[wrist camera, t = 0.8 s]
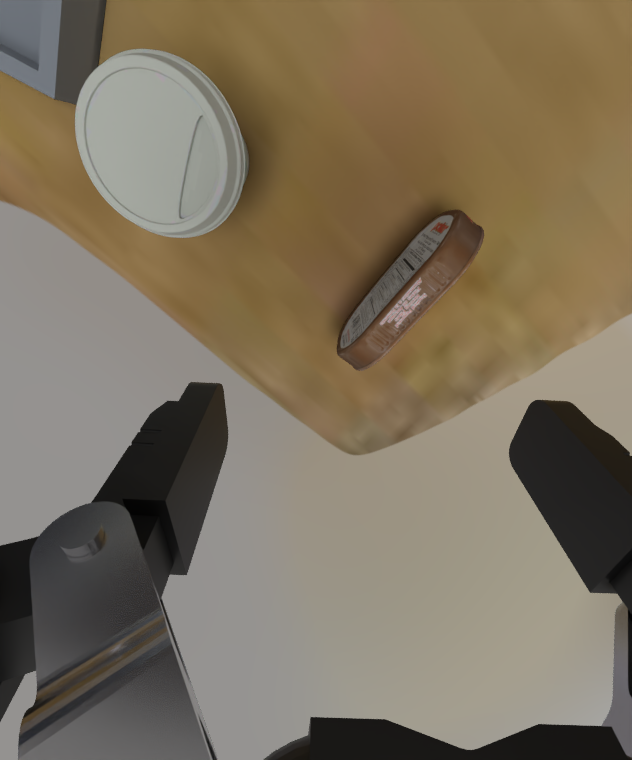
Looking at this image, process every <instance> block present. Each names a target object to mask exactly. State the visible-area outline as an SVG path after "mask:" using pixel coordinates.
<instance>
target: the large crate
mask: <svg viewBox="0 0 632 760" xmlns="http://www.w3.org/2000/svg"><path fill="white" fill-rule="evenodd" d="M105 6H106V0H0V71H2V72H4V73H6V74H8V75H10V76H12V77H14V78H16V79H17V80H19V81H21V82H23V83H25V84H27V85H29V86H31V87H33V88H34V89H36V90H38V91H40V92H42V93H44V94H46V95H48V96H50V97H51V98H53V99H56V100H60V101H64V102H68V103H72V104H76V105H77V101H78V97H79V94H80V91H81V89H82V87H83V85H84V83H85V81H86V80H87V78H88V77H89V75H90V74H91V73H92V72H93V71H94V70H95V69H96V68H97V67H98V64H99V55H100V47H101V39H102V31H103V23H104V15H105Z"/></svg>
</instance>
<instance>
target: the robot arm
mask: <svg viewBox="0 0 632 760" xmlns="http://www.w3.org/2000/svg"><path fill="white" fill-rule="evenodd" d="M227 442H228V426H227V416H226V408H225V399H224V391H223V386H222V384H219V383H199V382H191V383H189V385H188V386H187V388H186V390H185V391H184V393H183V395H182V396H181V398H180V400H179V401H167V402H166V403H164V404H163V405H162V406H160V407H159V408H157V409H156V410H155V411H153V412H152V413H151V414H150V415H149V417H148V418H147V420H146V421H145V423H144V424H143V426H142V427H141V429H140V432H138V434H137V435H136V437H135V438H134V440H133V441H132V445H131V446H129V447H128V448H127V450H126V451H125V453H124V454H123V456H122V458H121V459H120V461H119V462H118V464H117V465H116V467H115V468H114V470H113V471H112V473H111V474H110V476H109V477H108V479H107V480H106V482H105V483H104V485H103V486H102V488H101V489H100V491H99V492H98V494H97V495H96V497H95V498H94V500H93V501H92V502H91V503H89V504H85V505H82V506H79V507H77V508H75V509H73V510H70V511H69V512H67V513H65V514H64V515H62V516H60V517H59V518H57V519H56V520H55V521H53V522H52V523H51V524H50V525H49V526H48V527H47V528H46V529H45V530H44V531H43V532H42V533H41V534H40V536H38V537H35V538H31V539H28V540H23V541H19V542H14V543H10V544H6V545H1V546H0V721H1V719H2V718H3V715H4V714H5V712H6V710H7V708H8V706H9V704H10V702H11V700H12V698H13V696H14V695H15V693H16V691H17V689H18V687H19V685H20V683H21V681H22V679H23V677H24V675H25V674H27V673H30V672H33V671H36V677H37V695H36V700H35V703H34V705H33V707H31V708H29V709H28V710H27V711H26V713H25V714H24V717H23V719H22V723H21V727H20V733H19V744H18V760H218V758H217V755H216V752H215V749H214V746H213V743H212V740H211V738H210V735H209V732H208V729H207V726H206V723H205V721H204V718H203V715H202V712H201V709H200V707H199V704H198V701H197V698H196V696H195V693H194V690H193V687H192V684H191V681H190V678H189V676H188V673H187V670H186V667H185V664H184V661H183V658H182V656H181V652H180V650H179V646H178V644H177V641H176V638H175V635H174V632H173V629H172V626H171V623H170V620H169V618H168V615H167V612H166V609H165V606H164V603H163V600H162V594H163V591H164V588H165V586H166V583H167V580H168V577H169V575H170V574H173V575H187V572H188V569H189V566H190V563H191V560H192V557H193V554H194V550H195V547H196V544H197V541H198V538H199V535H200V531H201V529H202V525H203V522H204V519H205V516H206V513H207V510H208V507H209V504H210V500H211V497H212V494H213V491H214V488H215V485H216V482H217V479H218V475H219V473H220V469H221V466H222V463H223V460H224V457H225V454H226V449H227ZM629 454H630V453H629V451H627V450H626V449H625V448H624V447H623V446H622V445H621V444H620V443H619V442H618V441H617V440H616V439H615V438H614V437H613V436H611V435H610V434H608V433H607V432H605V431H603V430H602V429H600V428H599V427H597V426H596V425H594V424H593V423H592V422H591V421H590V420H589V419H588V418H587V417H586V416H585V415H584V414H583V413H582V412H581V411H580V410H579V409H578V408H577V407H576V406H575V405H573V404H572V403H570V402H567V401H549V400H535V401H533V402H532V403H531V404H530V405H529V407H528V409H527V411H526V413H525V415H524V417H523V419H522V421H521V423H520V425H519V427H518V429H517V431H516V434H515V436H514V438H513V440H512V442H511V444H510V449H509V457H510V462H511V464H512V467H513V469H514V470H515V472H516V474H517V475H518V477H519V479H520V480H521V482H522V483H523V485H524V487H525V488H526V490H527V491H528V493H529V495H530V496H531V498H532V500H533V501H534V503H535V504H536V506H537V507H538V509H539V511H540V512H541V514H542V515H543V517H544V519H545V520H546V522H547V524H548V525H549V527H550V529H551V530H552V532H553V533H554V535H555V537H556V538H557V540H558V541H559V543H560V545H561V546H562V548H563V550H564V551H565V553H566V554H567V556H568V558H569V559H570V561H571V562H572V564H573V566H574V567H575V569H576V570H577V572H578V574H579V575H580V577H581V579H582V580H583V582H584V583H585V585H586V587H587V588H588V590H589V591H590V593H616V594H618V595H619V596H620V598H621V600H622V601H623V602H622V603H621V604H620V605H619V606H618V607H617V609H616V612H615V635H614V670H613V673H614V674H613V699H612V705H611V708H610V711H609V713H608V715H607V717H606V719H605V721H604V722H603V724H602V726H577V725H546V724H538V725H536V726H533V727H531V728H528V729H526V730H523V731H521V732H518V733H516V734H513V735H511V736H508V737H506V738H503V739H501V740H498V741H496V742H493V743H491V744H488V745H486V746H483V747H481V748H478V749H475V750H465V749H461V748H458V747H456V746H453V745H450V744H448V743H445V742H443V741H440V740H438V739H435V738H432V737H430V736H427V735H425V734H422V733H419V732H417V731H414V730H412V729H409V728H406V727H404V726H401V725H398V724H396V723H393V722H391V721H388V720H385V719H383V720H382V719H352V718H320V717H311V719H310V726H309V734H308V736H305V737H303V738H300V739H297V740H295V741H293V742H290V743H288V744H287V745H285V746H283V747H281V748H280V749H278V750H276V751H274V752H273V753H271V754H270V755H269V756H268V757H266V758H265V759H264V760H632V456H630V455H629Z"/></svg>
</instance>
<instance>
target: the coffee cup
mask: <svg viewBox="0 0 632 760" xmlns="http://www.w3.org/2000/svg"><path fill="white" fill-rule="evenodd" d="M75 132H76V140H77V145H78V149H79V153H80V156H81V159H82V162H83V164H84V167H85V169H86V171H87V173H88V175H89V177H90V179H91V180H92V182H93V184H94V185H95V187H96V188H97V190H98V191H99V193H100V194H101V195H102V196H103V198H104V199H105V200H106V201H107V202H108V203H109V204H110V205H111V206H112V207H113V208H114V209H115V210H116V211H117V212H119V213H120V214H121V215H122V216H124V217H125V218H127V219H128V220H130V221H131V222H133V223H135V224H136V225H138V226H140V227H142V228H143V229H145V230H148V231H150V232H152V233H155V234H158V235H162V236H167V237H175V238H188V237H195V236H199V235H202V234H205V233H208V232H210V231H212V230H213V229H215V228H216V227H218V226H219V225H220V224H221V223H223V222H224V221H225V220H226V219H227V217H228V216H229V215H230V214H231V212H232V211H233V209H234V208H235V206H236V204H237V202H238V200H239V197H240V194H241V191H242V188H243V184H244V183H245V181H246V178H247V175H248V171H249V154H248V149H247V146H246V143H245V141H244V138H243V136H242V135H241V132H240V129H239V126H238V123H237V121H236V118H235V116H234V114H233V112H232V110H231V108H230V106H229V104H228V102H227V101H226V99H225V98H224V96H223V95H222V93H221V92H220V91H219V89H218V88H217V87H216V86H215V84H214V83H213V82H212V81H211V80H210V79H209V78H208V77H207V76H206V75H205V74H204V73H203V72H202V71H200V70H199V69H198V68H197V67H195V66H194V65H192V64H191V63H189V62H188V61H186V60H184V59H182V58H180V57H178V56H176V55H173V54H171V53H168V52H164V51H159V50H151V49H132V50H127V51H123V52H120V53H118V54H116V55H114V56H112V57H110V58H109V59H108V60H106V61H105V62H104V63H102V64H101V65H99V66H98V67H97V68H96V69H95V70H94V71H93V72H92V73H91V74H90V75H89V77H88V78H87V80H86V81H85V83H84V85H83V87H82V89H81V91H80V94H79V97H78V101H77V106H76V113H75Z"/></svg>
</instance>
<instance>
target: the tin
mask: <svg viewBox="0 0 632 760" xmlns="http://www.w3.org/2000/svg"><path fill="white" fill-rule="evenodd" d="M483 238H484V230H483V229H482V227H480V226H479V225H476V224H475V223H474V222H473V221H472V220H471V219H470V218H469V217H468V216H467V215H466V214H465V213H464V212H462V211H461V210H450V211H446V212H443V213H442V214H440V215H439V216H437V217H436V218H434V219H433V220H432V221H431V222H430V223H428V224H427V225H426V226H425V227H424V228H423V229H422V230H421V231H420V232H419V233H418V234H417V235H416V236H415V237H414V238H413V240H412V241H411V242H410V243H409V244H408V245H407V247H406V248H405V249H404V250H403V251H402V252H401V254H400V255H399V256H398V257H397V258H396V259H395V261H394V262H393V263H392V264H391V265H390V266H389V268H388V269H387V270H386V271H385V272H384V274H383V275H382V276H381V277H380V278H379V280H378V281H377V282H376V283H375V284H374V286H373V287H372V288H371V289H370V290H369V292H368V293H367V294H366V295H365V296H364V298H363V299H362V300H361V301H360V303H359V304H358V305H357V306H356V308H355V309H354V311H353V312H352V313H351V315H350V316H349V318H348V319H347V321H346V322H345V324H344V326H343V328H342V330H341V332H340V334H339V337H338V344H337V354H338V355H339V356H340V357H341V358H342V359H344V360H345V361H346V362H348V363H349V364H351V365H352V366H353V367H354V369H356V370H359V371H362V370H365V369H367V368H369V367H371V366H373V365H374V364H376V363H377V362H378V361H379V360H381V359H382V358H383V357H384V356H385V355H386V354H387V353H388V352H389V351H390V350H391V349H392V348H393V347H394V346H395V345H396V344H397V343H398V342H399V341H400V340H401V338H402V337H403V336H404V335H405V334H406V333H407V332H408V331H409V330H410V329H411V328H412V327H413V326H414V325H415V324H416V323H417V322H418V321H419V320H420V319H421V318H422V317H423V316H424V315H425V314H426V313H427V312H428V310H429V309H430V308H431V307H432V306H433V305H434V304H435V303H436V302H437V301H438V300H439V299H440V298H441V297H442V296H443V295H444V294H445V293H446V292H447V291H448V290H449V289H450V288H451V287H452V286H453V285H454V284H455V282H456V281H457V280H458V279H459V278H460V277H461V276H462V275H463V273H464V272H465V271H466V270H467V268H468V267H469V265H470V264H471V263H472V261H473V260H474V258H475V256H476V255H477V253H478V251H479V249H480V247H481V245H482V242H483Z"/></svg>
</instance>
